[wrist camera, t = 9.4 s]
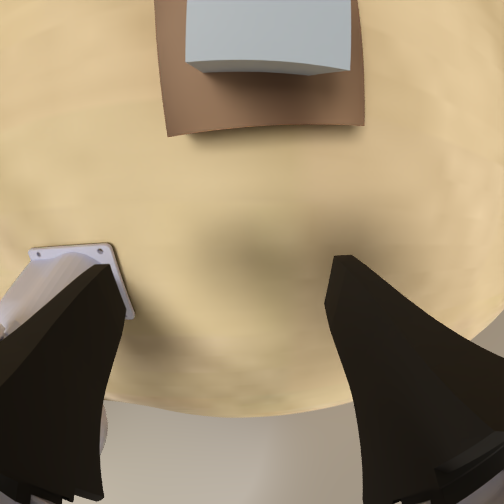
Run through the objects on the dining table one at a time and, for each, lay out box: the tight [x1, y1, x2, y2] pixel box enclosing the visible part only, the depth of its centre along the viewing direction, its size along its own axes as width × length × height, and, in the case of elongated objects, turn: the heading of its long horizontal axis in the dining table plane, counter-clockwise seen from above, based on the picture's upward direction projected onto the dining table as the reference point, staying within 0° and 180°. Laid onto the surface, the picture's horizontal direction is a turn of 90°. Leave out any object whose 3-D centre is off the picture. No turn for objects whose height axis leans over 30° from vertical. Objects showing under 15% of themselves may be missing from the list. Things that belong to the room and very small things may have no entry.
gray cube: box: [185, 0, 351, 76], centre depth 7 cm, size 5×5×5 cm
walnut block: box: [154, 0, 365, 137], centre depth 11 cm, size 10×10×4 cm
